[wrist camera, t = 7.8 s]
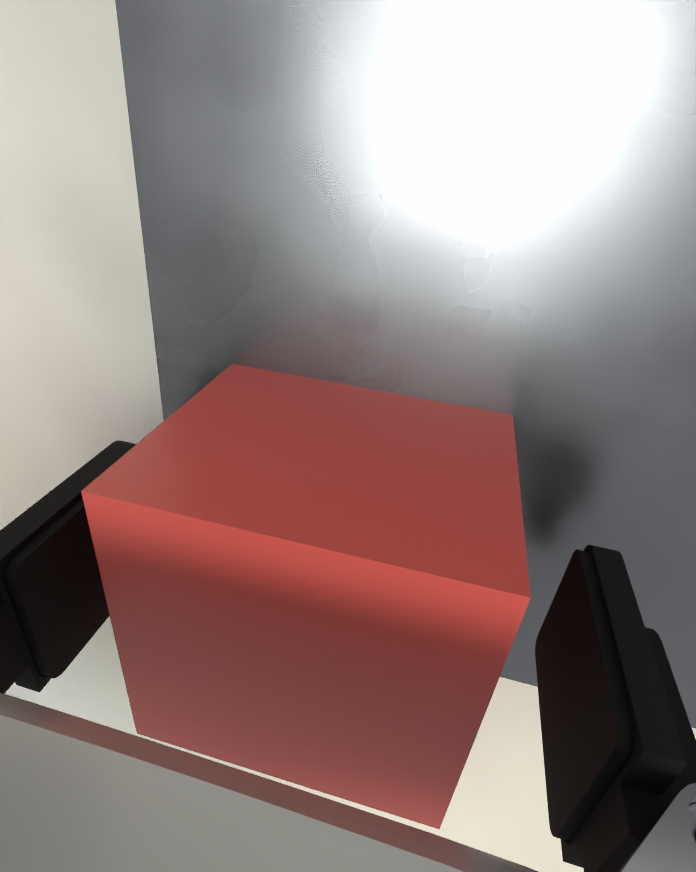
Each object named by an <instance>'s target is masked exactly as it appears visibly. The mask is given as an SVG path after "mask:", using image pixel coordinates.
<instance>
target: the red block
mask: <svg viewBox="0 0 696 872" xmlns="http://www.w3.org/2000/svg"><path fill="white" fill-rule="evenodd" d="M81 493H82V497H83V502H84V506H85V510H86V515H87V519H88V523H89V528H90V532H91V536H92V541H93V545H94V549H95V554H96V558H97V562H98V567H99V571H100V575H101V580H102V584H103V588H104V593H105V597H106V601H107V606H108V610H109V614H110V619H111V623H112V627H113V632H114V636H115V640H116V645H117V649H118V653H119V658H120V662H121V666H122V671H123V675H124V679H125V684H126V688H127V692H128V697H129V701H130V705H131V710H132V714H133V718H134V723H135V727H136V731H137V733H138V734H141V735H144V736H147V737H150V738H153V739H157V740H160V741H163V742H166V743H169V744H172V745H175V746H179V747H182V748H185V749H188V750H191V751H194V752H198V753H201V754H204V755H207V756H210V757H213V758H216V759H220V760H223V761H226V762H229V763H232V764H235V765H239V766H242V767H245V768H248V769H251V770H254V771H257V772H261V773H264V774H267V775H270V776H273V777H276V778H280V779H283V780H286V781H289V782H292V783H295V784H298V785H302V786H305V787H308V788H311V789H314V790H317V791H321V792H324V793H327V794H330V795H333V796H336V797H339V798H343V799H346V800H349V801H352V802H355V803H358V804H362V805H365V806H368V807H371V808H374V809H377V810H380V811H384V812H387V813H390V814H393V815H396V816H399V817H403V818H406V819H409V820H412V821H415V822H418V823H421V824H425V825H428V826H431V827H434V828H437V829H440V826H441V824H442V821H443V818H444V816H445V813H446V811H447V808H448V806H449V803H450V801H451V798H452V796H453V793H454V791H455V788H456V786H457V783H458V780H459V778H460V775H461V773H462V770H463V768H464V765H465V763H466V760H467V758H468V755H469V753H470V750H471V748H472V745H473V743H474V740H475V737H476V735H477V732H478V730H479V727H480V725H481V722H482V720H483V717H484V715H485V712H486V710H487V707H488V705H489V702H490V699H491V697H492V694H493V692H494V689H495V687H496V684H497V682H498V679H499V677H500V674H501V672H502V669H503V667H504V664H505V662H506V659H507V656H508V654H509V651H510V649H511V646H512V644H513V641H514V639H515V636H516V634H517V631H518V629H519V626H520V624H521V621H522V618H523V616H524V613H525V611H526V608H527V606H528V603H529V601H530V598H531V597H530V586H529V576H528V566H527V555H526V545H525V535H524V524H523V514H522V504H521V493H520V483H519V473H518V463H517V452H516V442H515V432H514V421H513V415H510V414H505V413H499V412H494V411H488V410H483V409H477V408H472V407H467V406H461V405H456V404H450V403H445V402H439V401H434V400H428V399H423V398H417V397H412V396H406V395H401V394H395V393H390V392H384V391H379V390H373V389H368V388H362V387H357V386H352V385H346V384H341V383H335V382H330V381H324V380H319V379H313V378H308V377H302V376H297V375H291V374H286V373H280V372H275V371H269V370H264V369H258V368H253V367H247V366H242V365H237V364H231V365H230V366H229V367H228V368H227V369H225V370H224V371H223V372H222V373H221V374H219V375H218V376H217V377H216V378H215V379H214V380H212V381H211V382H210V383H209V384H208V385H206V386H205V387H204V388H203V389H202V390H200V391H199V392H198V393H197V394H196V395H195V396H193V397H192V398H191V399H190V400H189V401H187V402H186V403H185V404H184V405H183V406H181V407H180V408H179V409H178V410H177V411H176V412H174V413H173V414H172V415H171V416H170V417H168V418H167V419H166V420H165V421H164V422H162V423H161V424H160V425H159V426H158V427H157V428H155V429H154V430H153V431H152V432H151V433H149V434H148V435H147V436H146V437H145V438H143V439H142V440H141V441H140V442H139V443H138V444H136V445H135V446H134V447H133V448H132V449H130V450H129V451H128V452H127V453H126V454H125V455H123V456H122V457H121V458H120V459H119V460H117V461H116V462H115V463H114V464H113V465H111V466H110V467H109V468H108V469H107V470H106V471H104V472H103V473H102V474H101V475H100V476H98V477H97V478H96V479H95V480H94V481H92V482H91V483H90V484H89V485H88V486H87V487H85V488H84V489H83V490H82V491H81Z"/></svg>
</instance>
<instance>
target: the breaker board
mask: <svg viewBox="0 0 696 872" xmlns="http://www.w3.org/2000/svg"><path fill="white" fill-rule="evenodd" d="M115 1H116V9H117V18H118V27H119V35H120V44H121V53H122V61H123V70H124V79H125V88H126V96H127V105H128V114H129V122H130V131H131V140H132V148H133V157H134V166H135V174H136V183H137V192H138V200H139V209H140V218H141V226H142V235H143V244H144V252H145V261H146V270H147V279H148V287H149V296H150V305H151V313H152V322H153V331H154V339H155V348H156V357H157V365H158V374H159V383H160V391H161V400H162V409H163V417H164V421H165V420H166V419H167V418H168V417H170V416H171V415H172V414H173V413H174V412H176V411H177V410H178V409H179V408H180V407H181V406H183V405H184V404H185V403H186V402H187V401H189V400H190V399H191V398H192V397H193V396H195V395H196V394H197V393H198V392H199V391H200V390H202V389H203V388H204V387H205V386H206V385H208V384H209V383H210V382H211V381H212V380H214V379H215V378H216V377H217V376H218V375H219V374H221V373H222V372H223V371H224V370H225V369H227V368H228V367H229V366H230V365H231V364H237V365H242V366H247V367H253V368H258V369H264V370H269V371H275V372H280V373H286V374H291V375H297V376H302V377H308V378H313V379H319V380H324V381H330V382H335V383H341V384H346V385H352V386H357V387H362V388H368V389H373V390H379V391H384V392H390V393H395V394H401V395H406V396H412V397H417V398H423V399H428V400H434V401H439V402H445V403H450V404H456V405H461V406H467V407H472V408H477V409H483V410H488V411H494V412H499V413H505V414H510V415H513V421H514V432H515V442H516V452H517V463H518V473H519V483H520V493H521V504H522V514H523V524H524V535H525V545H526V555H527V566H528V576H529V586H530V597H531V598H530V601H529V603H528V606H527V608H526V611H525V613H524V616H523V618H522V621H521V624H520V626H519V629H518V631H517V634H516V636H515V639H514V641H513V644H512V646H511V649H510V651H509V654H508V656H507V659H506V662H505V664H504V667H503V669H502V672H501V674H500V677H503V678H507V679H511V680H515V681H518V682H522V683H526V684H530V685H534V686H537V687H538V683H537V671H536V659H535V645H536V639H537V636H538V633H539V631H540V629H541V626H542V624H543V622H544V619H545V617H546V615H547V612H548V610H549V608H550V605H551V603H552V601H553V598H554V596H555V594H556V592H557V589H558V587H559V585H560V582H561V580H562V578H563V575H564V573H565V571H566V568H567V566H568V564H569V561H570V559H571V557H572V554H573V553H574V551H575V550H577V549H578V550H582V551H583V550H584V549H585V547H586V546H587V545H593V546H598V547H603V548H607V549H612V550H616V551H619V552H620V553H621V555H622V557H623V560H624V563H625V566H626V569H627V572H628V575H629V578H630V582H631V585H632V588H633V591H634V594H635V597H636V600H637V604H638V607H639V610H640V613H641V616H642V619H643V622H644V626H645V627H646V628H651V629H654V630H655V631H656V632H657V633H658V635H659V637H660V639H661V641H662V643H663V646H664V649H665V652H666V655H667V658H668V661H669V664H670V667H671V670H672V672H673V675H674V678H675V681H676V684H677V687H678V690H679V693H680V696H681V699H682V702H683V704H684V707H685V710H686V713H687V716H688V719H689V722H690V725H691V727H693V728H696V0H115Z"/></svg>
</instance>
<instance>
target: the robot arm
mask: <svg viewBox="0 0 696 872" xmlns="http://www.w3.org/2000/svg"><path fill="white" fill-rule="evenodd" d="M135 445H136V444H133V443H129V442H124V441H115V442H113V443H112V444H111V445H109V446H108V447H107V448H105V449H104V450H103V451H102V452H100V453H99V454H98V455H97V456H95V457H94V458H93V459H91V460H90V461H89V462H88V463H86V464H85V465H84V466H82V467H81V468H80V469H79V470H77V471H76V472H75V473H73V474H72V475H71V476H70V477H68V478H67V479H66V480H65V481H63V482H62V483H61V484H59V485H58V486H57V487H56V488H54V489H53V490H52V491H50V492H49V493H48V494H47V495H45V496H44V497H43V498H41V499H40V500H39V501H38V502H36V503H35V504H34V505H33V506H31V507H30V508H29V509H27V510H26V511H25V512H24V513H22V514H21V515H20V516H18V517H17V518H16V519H15V520H13V521H12V522H11V523H9V524H8V525H7V526H6V527H4V528H3V529H2V530H0V872H538V871H535V870H533V869H530V868H528V867H525V866H522V865H519V864H517V863H514V862H511V861H508V860H505V859H502V858H500V857H497V856H494V855H491V854H488V853H485V852H483V851H480V850H477V849H474V848H471V847H468V846H466V845H463V844H460V843H457V842H454V841H451V840H449V839H446V838H443V837H440V836H437V835H434V834H432V833H429V832H426V831H423V830H420V829H417V828H414V827H411V826H408V825H405V824H402V823H399V822H396V821H393V820H390V819H387V818H384V817H381V816H378V815H375V814H372V813H369V812H366V811H363V810H360V809H357V808H354V807H351V806H348V805H345V804H342V803H339V802H336V801H333V800H330V799H327V798H324V797H321V796H318V795H315V794H312V793H309V792H306V791H303V790H300V789H297V788H294V787H291V786H288V785H284V784H281V783H278V782H275V781H272V780H269V779H266V778H263V777H260V776H257V775H254V774H251V773H248V772H245V771H242V770H239V769H236V768H233V767H230V766H227V765H224V764H220V763H217V762H214V761H211V760H208V759H205V758H202V757H199V756H196V755H193V754H190V753H187V752H184V751H181V750H178V749H175V748H171V747H168V746H165V745H162V744H159V743H156V742H153V741H150V740H147V739H144V738H141V737H138V736H135V735H132V734H128V733H125V732H122V731H119V730H116V729H113V728H110V727H107V726H103V725H100V724H97V723H94V722H91V721H88V720H85V719H82V718H79V717H75V716H72V715H69V714H66V713H63V712H60V711H57V710H54V709H51V708H47V707H44V706H41V705H38V704H35V703H32V702H29V701H26V700H22V699H19V698H16V697H12V696H9V695H6V691H7V690H8V689H9V688H10V686H11V685H12V684H13V683H14V682H15V683H16V685H18V686H22V687H25V688H28V689H31V690H34V691H37V692H40V691H41V690H42V689H43V688H44V686H45V685H46V684H47V683H48V682H49V680H50V679H51V678H56V677H58V676H59V675H61V674H62V673H63V672H64V671H65V669H66V668H67V667H68V666H69V664H70V663H71V662H72V661H73V660H74V658H75V657H76V656H77V655H78V653H79V652H80V651H81V650H82V649H83V647H84V646H85V645H86V644H87V642H88V641H89V640H90V639H91V637H92V636H93V635H94V634H95V633H96V631H97V630H98V629H99V628H100V626H101V625H102V624H103V623H104V622H105V620H106V619H107V618H108V617H109V615H110V614H109V610H108V606H107V601H106V597H105V593H104V588H103V584H102V580H101V575H100V571H99V567H98V562H97V558H96V554H95V549H94V545H93V541H92V536H91V532H90V528H89V523H88V519H87V515H86V510H85V506H84V502H83V497H82V493H81V491H82V490H83V489H84V488H85V487H87V486H88V485H89V484H90V483H91V482H92V481H94V480H95V479H96V478H97V477H98V476H100V475H101V474H102V473H103V472H104V471H106V470H107V469H108V468H109V467H110V466H111V465H113V464H114V463H115V462H116V461H117V460H119V459H120V458H121V457H122V456H123V455H125V454H126V453H127V452H128V451H129V450H130V449H132V448H133V447H134V446H135ZM535 659H536V671H537V683H538V695H539V706H540V718H541V730H542V742H543V753H544V765H545V777H546V789H547V801H548V812H549V823H550V830H551V833H552V835H553V836H554V837H557V838H560V839H561V846H562V856H563V861H564V862H567V863H570V864H573V865H576V866H579V867H582V868H584V872H696V739H695V737H694V734H693V731H692V728H691V725H690V722H689V719H688V716H687V713H686V710H685V707H684V704H683V702H682V699H681V696H680V693H679V690H678V687H677V684H676V681H675V678H674V675H673V672H672V670H671V667H670V664H669V661H668V658H667V655H666V652H665V649H664V646H663V643H662V641H661V639H660V637H659V635H658V633H657V632H656V631H655V630H654V629H651V628H646V627H645V626H644V622H643V619H642V616H641V613H640V610H639V607H638V604H637V600H636V597H635V594H634V591H633V588H632V585H631V582H630V578H629V575H628V572H627V569H626V566H625V563H624V560H623V557H622V555H621V553H620V552H619V551H616V550H612V549H607V548H603V547H598V546H593V545H587V546H586V547H585V549H584V550H583V551H582V550H578V549H577V550H575V551H574V553H573V554H572V557H571V559H570V561H569V564H568V566H567V568H566V571H565V573H564V575H563V578H562V580H561V582H560V585H559V587H558V589H557V592H556V594H555V596H554V598H553V601H552V603H551V605H550V608H549V610H548V612H547V615H546V617H545V619H544V622H543V624H542V626H541V629H540V631H539V633H538V636H537V639H536V645H535Z"/></svg>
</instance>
